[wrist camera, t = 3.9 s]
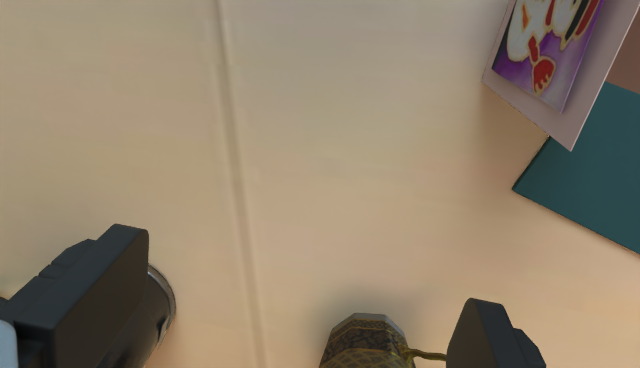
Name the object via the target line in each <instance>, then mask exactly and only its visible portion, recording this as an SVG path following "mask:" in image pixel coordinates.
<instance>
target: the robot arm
mask: <svg viewBox="0 0 640 368" xmlns="http://www.w3.org/2000/svg"><path fill="white" fill-rule="evenodd" d="M148 251H149V234H148V231H147V230H145V229H140V228H135V227H131V226H126V225H121V224H114V225H112V226H111V227H110V228H109V229H108V230H107V231H106V232H105V233H104V234H103V235H102V236H101V237H99V238H98V239H97V240H91V239H87V240H84V241H82V242H80V243H78V244H76V245H73V246H71V247H69V248H67V249H66V250H64V251H63V252H62V253H61V254H60V255H59V256H58V257H57V258H55V259H54V260H53V261H52V263H51V265H48V266H46V267H45V268H44V269H43V270H42V271H41V272H40V273H39V275H38V276H35V277H34V278H33V279H32V280H31V281H29V282H28V283H27V284H26V285H25V286H24V287H23V288H22V289H20V290H19V291H18V292H17V293H16V294H15V295H14V296H13V297H11V298H10V299H9V300H7V299H4V298H2V297H0V368H143V367H144V365H145V364H146V362H147V360H148V359H149V357H150V355H151V354H152V352H153V350H154V348H155V347H156V345H157V343H158V342H159V343H158V347H157V349H158V348H159V346H160V344H161V343H162V341H163V339H164V335H165V331H166V330H167V328H168V327H169V325H170V323H171V322H172V320H173V317H174V314H175V299H174V296H173V293H172V290H171V288H170V286H169V285H168V283H167V282H166V280H165V279H164V278H163V277H162V276H161V275H160V274H159V273H158V272H157V271H156V270H155V269H154V268H152V267H151V266H149V265H148ZM446 368H546V364H545V362H544V360H543V358H542V356H541V353H540V351H539V349H538V347H537V346H536V345H535V344H534V343H533V342H532V341H531V340H530V338H529V337H528V336H527V335H526V334H525V333H524V332H523V331H522V330H521V329H516V328H513V326H512V324H511V322H510V320H509V317H508V315H507V313H506V310H505V308H504V306H503V305H502V304H498V303H494V302H489V301H484V300H479V299H474V298H469V299H468V300H467V301H466V303H465V305H464V307H463V310H462V312H461V315H460V318H459V320H458V323H457V325H456V328H455V330H454V333H453V335H452V338H451V340H450V343H449V346H448V349H447V355H446Z"/></svg>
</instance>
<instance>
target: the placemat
mask: <svg viewBox="0 0 640 368" xmlns="http://www.w3.org/2000/svg"><path fill="white" fill-rule="evenodd" d="M512 190H513V191H514V192H516V193H518V194H520V195H522V196H524V197H526V198H528V199H530V200H532V201H534V202H536V203H538V204H540V205H542V206H544V207H546V208H548V209H550V210H552V211H554V212H556V213H558V214H560V215H562V216H564V217H566V218H568V219H570V220H572V221H574V222H576V223H578V224H580V225H582V226H584V227H586V228H588V229H590V230H592V231H594V232H596V233H598V234H600V235H602V236H604V237H606V238H608V239H610V240H612V241H614V242H616V243H618V244H620V245H622V246H624V247H626V248H628V249H630V250H632V251H634V252H636V253H638V254H640V94H638V93H635V92H633V91H630V90H627V89H625V88H622V87H619V86H617V85H614V84H611V83H609V82H606V81H604V83H603V85H602V87H601V89H600V91H599V94H598V96H597V98H596V100H595V102H594V104H593V106H592V108H591V110H590V113H589V115H588V117H587V119H586V121H585V123H584V125H583V127H582V130H581V132H580V134H579V136H578V138H577V140H576V142H575V144H574V146H573V149H572V151H569V150H568V149H566V148H565V147H564V146H563V145H561V144H560V143H559V142H558V141H556V140H555V139H554V138H552V137H551V136H550V137H549V139H548V140H547V141H546V143H545V144H544V145H543V147H542V148H541V150H540V151H539V152H538V154H537V155H536V156H535V158H534V159H533V160H532V162H531V163H530V165H529V166H528V167H527V169H526V170H525V171H524V173H523V174H522V175H521V177H520V178H519V179H518V181H517V182H516V184H515V185H514V186H513V188H512Z"/></svg>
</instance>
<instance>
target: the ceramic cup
mask: <svg viewBox="0 0 640 368" xmlns="http://www.w3.org/2000/svg"><path fill="white" fill-rule="evenodd" d="M416 356H419V357H422V358H424V359H428V360H441V361H446V355H445V354H441V353H426V352H422V351H420V350H417V349H409V348H408V345H407V342H406V339H405V336H404V333H403V332H402V330H401V329H400V328H399V327H397V326H396V325H395V324H394V323H393V322H392V321H391V320H390V319H389V318H388V317H387V316H386V315H380V314H366V313H354V314H353V315H351V316H350V317H348V318H347V319H346V320H344V321H343V322H341V323H340V324H338V325H337V326H336V327H334V328H333V329H332V332H331V334H330V337H329V340H328V343H327V346H326V348H325V351H324V354H323V357H322V360H321V363H320V366H319V368H416V367H415V364H414V361H413V359H412V358H413V357H416Z"/></svg>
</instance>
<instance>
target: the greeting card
mask: <svg viewBox="0 0 640 368" xmlns="http://www.w3.org/2000/svg"><path fill="white" fill-rule="evenodd" d="M604 81H606V82H609V83H611V84H614V85H617V86H619V87H622V88H625V89H627V90H630V91H633V92H635V93H638V94H640V0H510V2H509V5H508V8H507V10H506V13H505V16H504V19H503V21H502V24H501V27H500V30H499V33H498V35H497V38H496V41H495V44H494V46H493V49H492V52H491V55H490V57H489V60H488V63H487V66H486V69H485V71H484V74H483V77H482V80H481V82H482V83H484V84H485V85H486V86H487V87H489V88H490V89H491V90H493V91H494V92H495V93H496V94H498V95H499V96H500V97H502V98H503V99H504V100H505V101H507V102H508V103H509V104H510V105H512V106H513V107H514V108H516V109H517V110H518V111H519V112H521V113H522V114H523V115H524V116H526V117H527V118H528V119H530V120H531V121H532V122H533V123H535V124H536V125H537V126H538V127H540V128H541V129H542V130H544V131H545V132H546V133H547V134H549V135H550V136H551V137H552V138H554V139H555V140H556V141H558V142H559V143H560V144H561V145H563V146H564V147H565V148H566V149H568V150H569V151H572V149H573V146H574V144H575V142H576V140H577V138H578V136H579V134H580V132H581V130H582V127H583V125H584V123H585V121H586V119H587V117H588V115H589V113H590V110H591V108H592V106H593V104H594V102H595V100H596V98H597V96H598V94H599V91H600V89H601V87H602V85H603V83H604Z"/></svg>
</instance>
